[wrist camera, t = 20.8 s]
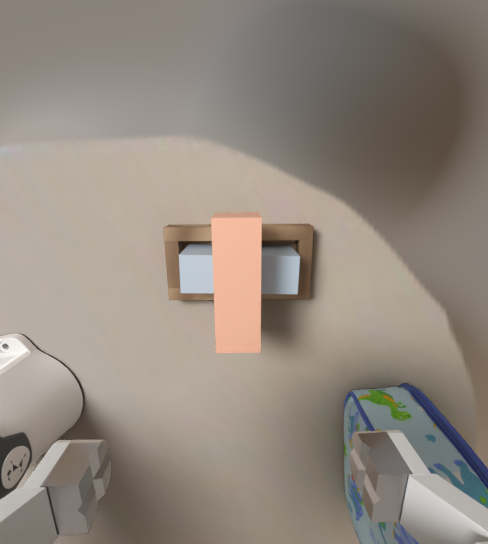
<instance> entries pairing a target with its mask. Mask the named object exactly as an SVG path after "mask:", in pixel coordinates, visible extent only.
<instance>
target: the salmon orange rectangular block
mask: <svg viewBox="0 0 488 544" xmlns="http://www.w3.org/2000/svg"><path fill="white" fill-rule="evenodd" d="M211 230H212V256H213V283H214V310H215V336H216V353H251V352H261V242H262V217H261V216H260V214H259V213H258V212H249V213H215V214H214V215H213V216H212V217H211Z"/></svg>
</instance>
